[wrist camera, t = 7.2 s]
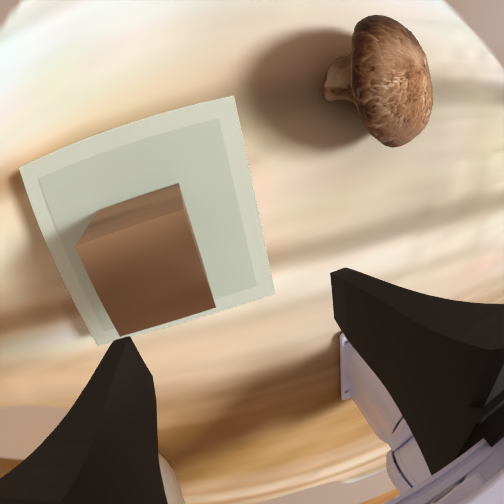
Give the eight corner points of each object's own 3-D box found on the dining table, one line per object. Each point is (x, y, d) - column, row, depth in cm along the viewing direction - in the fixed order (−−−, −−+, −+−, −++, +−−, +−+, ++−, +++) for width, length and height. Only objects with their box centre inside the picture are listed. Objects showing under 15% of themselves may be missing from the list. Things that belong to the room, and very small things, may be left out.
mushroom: (290, 107, 15) (417, 94, 11) (305, 4, 15) (403, -17, 11) (352, 165, 21) (441, 166, 17) (358, 72, 21) (435, 66, 17)
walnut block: (202, 259, 18) (216, 307, 14) (128, 282, 17) (120, 336, 13) (178, 182, 16) (183, 208, 12) (98, 210, 15) (75, 246, 11)
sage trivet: (266, 280, 22) (275, 294, 20) (101, 329, 20) (97, 346, 19) (227, 97, 17) (234, 95, 15) (30, 162, 15) (18, 167, 13)
